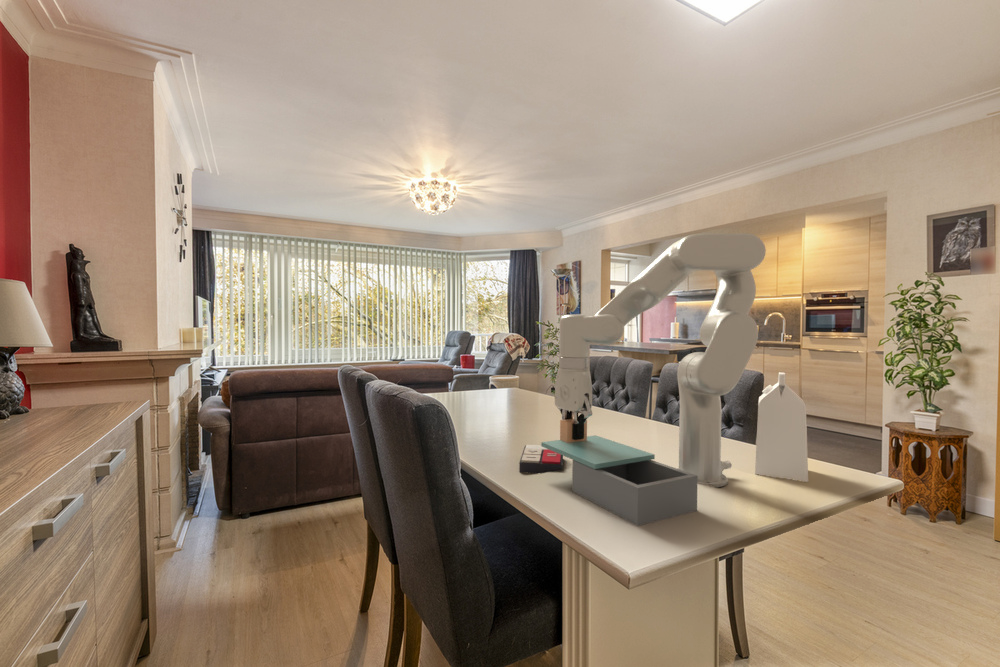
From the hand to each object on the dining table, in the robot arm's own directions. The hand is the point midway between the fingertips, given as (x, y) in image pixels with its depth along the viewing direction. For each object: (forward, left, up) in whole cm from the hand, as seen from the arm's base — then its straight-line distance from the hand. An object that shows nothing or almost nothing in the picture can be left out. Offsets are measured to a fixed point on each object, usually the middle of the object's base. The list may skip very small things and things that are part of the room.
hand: (573, 436), depth 116 cm
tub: (0, +20, -10) cm, 23 cm away
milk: (-52, +20, -10) cm, 57 cm away
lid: (0, +9, -2) cm, 9 cm away
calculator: (+1, -12, -11) cm, 16 cm away
